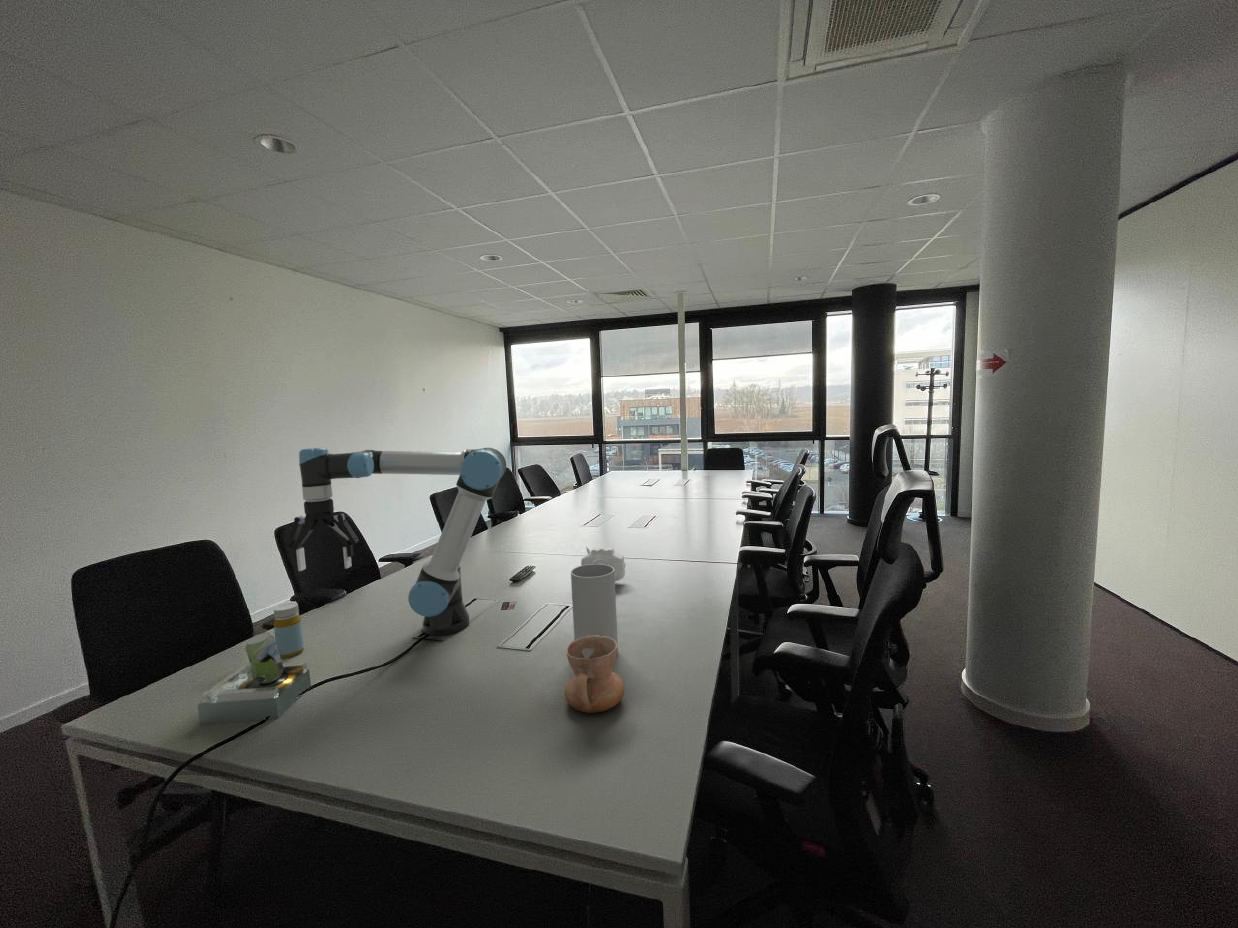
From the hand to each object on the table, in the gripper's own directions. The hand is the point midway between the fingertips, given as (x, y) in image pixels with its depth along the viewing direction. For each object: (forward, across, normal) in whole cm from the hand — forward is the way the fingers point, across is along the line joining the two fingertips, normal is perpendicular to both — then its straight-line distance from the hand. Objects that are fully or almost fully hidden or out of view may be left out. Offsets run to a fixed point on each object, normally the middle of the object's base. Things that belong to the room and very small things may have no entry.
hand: (325, 568), depth 150 cm
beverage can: (+21, +3, +26) cm, 34 cm away
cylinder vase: (+27, -81, +13) cm, 86 cm away
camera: (+27, -85, -47) cm, 101 cm away
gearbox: (+27, +5, +27) cm, 38 cm away
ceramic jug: (+27, -80, +38) cm, 93 cm away
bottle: (+27, +14, -2) cm, 30 cm away
